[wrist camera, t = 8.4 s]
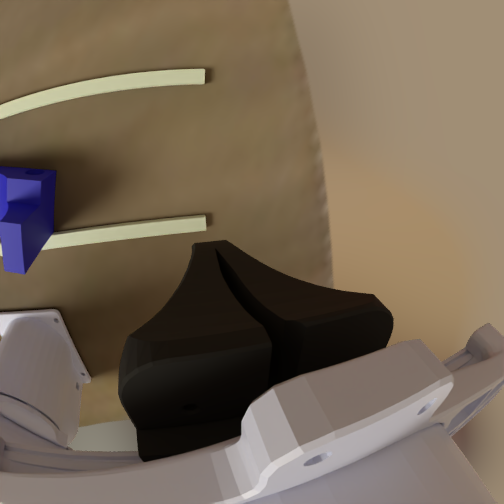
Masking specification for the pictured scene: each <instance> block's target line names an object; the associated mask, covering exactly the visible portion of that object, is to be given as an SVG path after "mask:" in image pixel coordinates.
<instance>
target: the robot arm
mask: <svg viewBox="0 0 504 504" xmlns="http://www.w3.org/2000/svg"><path fill="white" fill-rule="evenodd" d="M55 318H56V319H58V320H56V319H55ZM392 330H393V316H392V314H391V312H390V311H389V310H388V309H387V308H386V307H385V306H384V305H383V304H382V303H381V302H380V301H379V300H378V299H377V298H376V297H375V295H373V294H366V293H357V292H347V291H341V290H336V289H331V288H326V287H322V286H318V285H314V284H311V283H308V282H304V281H301V280H298V279H295V278H293V277H290V276H288V275H285V274H283V273H281V272H278V271H276V270H274V269H272V268H270V267H268V266H267V265H265V264H263V263H261V262H259V261H258V260H256V259H254V258H253V257H251V256H249V255H248V254H246V253H245V252H243V251H242V250H240V249H239V248H237V247H236V246H234V245H233V244H231V243H230V242H228V241H227V240H221V241H211V242H202V243H194V244H193V246H192V255H191V259H190V262H189V265H188V268H187V270H186V273H185V275H184V277H183V279H182V281H181V283H180V285H179V286H178V288H177V290H176V291H175V293H174V294H173V296H172V297H171V298H170V300H169V301H168V302H167V303H166V305H165V306H164V307H163V308H162V309H161V310H160V311H159V312H158V313H157V314H156V315H155V316H154V317H153V318H152V319H151V320H150V321H148V322H147V323H146V324H144V325H143V326H142V327H140V328H139V329H137V330H136V331H135V332H133V333H132V334H130V335H129V336H128V337H127V340H126V343H125V346H124V350H123V353H122V358H121V362H120V368H119V383H118V395H119V398H120V401H121V404H122V405H123V407H124V409H125V411H126V412H127V414H128V416H129V418H130V419H131V421H132V423H133V424H134V426H135V427H136V430H137V443H138V451H122V452H121V451H118V452H102V451H75V450H73V449H71V448H70V447H68V446H67V445H69V444H70V443H71V442H72V440H73V439H74V438H75V436H76V434H77V432H78V427H79V415H80V404H81V394H82V386H83V383H90V382H91V377H90V375H89V373H88V372H87V370H86V368H85V366H84V364H83V362H82V360H81V358H80V356H79V354H78V352H77V350H76V348H75V346H74V344H73V342H72V339H71V337H70V335H69V333H68V331H67V328H66V326H65V324H64V321H63V319H62V317H61V314H60V312H59V311H58V310H56V309H46V310H32V311H16V312H0V334H1V336H2V339H1V341H0V504H497V502H496V501H495V499H494V498H493V496H492V495H491V493H490V492H489V490H488V489H487V487H486V486H485V484H484V483H483V481H482V480H481V479H480V477H479V476H478V474H477V473H476V471H475V470H474V469H473V467H472V466H471V464H470V463H469V462H468V460H467V459H466V457H465V456H464V455H463V453H462V452H461V450H460V449H459V448H458V446H457V445H456V443H455V442H454V441H453V439H452V438H451V436H452V435H454V434H455V433H456V432H457V431H458V430H460V429H461V428H462V427H463V426H464V425H465V424H467V423H468V422H469V421H470V420H471V419H472V418H473V417H474V416H475V415H476V414H478V413H479V412H480V411H481V410H482V409H483V408H484V407H485V406H486V405H487V404H488V403H489V402H490V401H491V400H492V399H493V398H494V397H495V396H496V395H497V394H498V392H499V391H500V390H501V389H502V388H503V386H504V336H503V335H501V334H500V333H499V332H498V331H497V330H496V329H495V328H494V327H493V326H492V325H491V324H490V323H487V324H485V325H484V326H482V327H480V328H479V329H478V330H476V331H475V332H474V333H473V334H472V336H471V337H470V339H469V340H468V342H467V344H466V347H465V348H464V349H462V350H460V351H459V352H457V353H456V354H454V355H452V356H451V357H449V358H447V359H446V360H444V361H442V362H441V361H440V360H439V359H438V358H437V357H436V356H435V355H434V354H433V352H432V351H431V350H430V349H429V348H428V347H427V346H426V345H425V344H424V343H423V342H422V341H421V340H420V339H416V340H409V341H402V342H399V343H397V344H394V345H391V346H389V347H386V346H387V344H388V341H389V339H390V336H391V333H392Z"/></svg>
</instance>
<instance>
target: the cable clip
mask: <svg viewBox="0 0 504 504" xmlns="http://www.w3.org/2000/svg"><path fill="white" fill-rule="evenodd" d="M55 182H56V171H54V170H43V169H31V168H17V167H2V166H0V236H1V246H2V255H3V263H4V270H5V271H8V272H14V273H20V274H26V272H27V270H28V269H29V267H30V266H31V264H32V263H33V261H34V260H35V258H36V257H37V255H38V254H39V252H40V251H41V249H42V248H43V246H44V245H45V244H46V242H47V241H48V239H49V238H50V237H51V235H52V234H53V232H54V199H55Z"/></svg>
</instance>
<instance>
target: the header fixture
mask: <svg viewBox="0 0 504 504" xmlns="http://www.w3.org/2000/svg"><path fill="white" fill-rule="evenodd" d="M197 84H205V69H181V70H164V71H151V72H141V73H132V74H124V75H117V76H110V77H104V78H98V79H93V80H88V81H83V82H78V83H73V84H69V85H65V86H60V87H56V88H53V89H49V90H45V91H41V92H38V93H35V94H31V95H28V96H25V97H22V98H19V99H16V100H13V101H10V102H7V103H4V104H2V105H0V120H1V119H3V118H6V117H9V116H12V115H15V114H18V113H22V112H25V111H28V110H32V109H35V108H39V107H42V106H46V105H50V104H54V103H58V102H62V101H66V100H71V99H76V98H80V97H86V96H91V95H96V94H102V93H108V92H115V91H122V90H130V89H138V88H148V87H159V86H174V85H197ZM196 231H206V217H205V215H195V216H185V217H175V218H165V219H156V220H146V221H138V222H129V223H121V224H113V225H105V226H97V227H89V228H82V229H75V230H68V231H61V232H54V233H53V234H52V235H51V237H50V238H49V239H48V241H47V242H46V244H45V245H44V246H43V248H42V249H41V250H45V249H52V248H60V247H67V246H75V245H82V244H90V243H98V242H106V241H115V240H123V239H132V238H140V237H149V236H158V235H167V234H177V233H187V232H196ZM0 256H3V255H2V246H1V241H0Z"/></svg>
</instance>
